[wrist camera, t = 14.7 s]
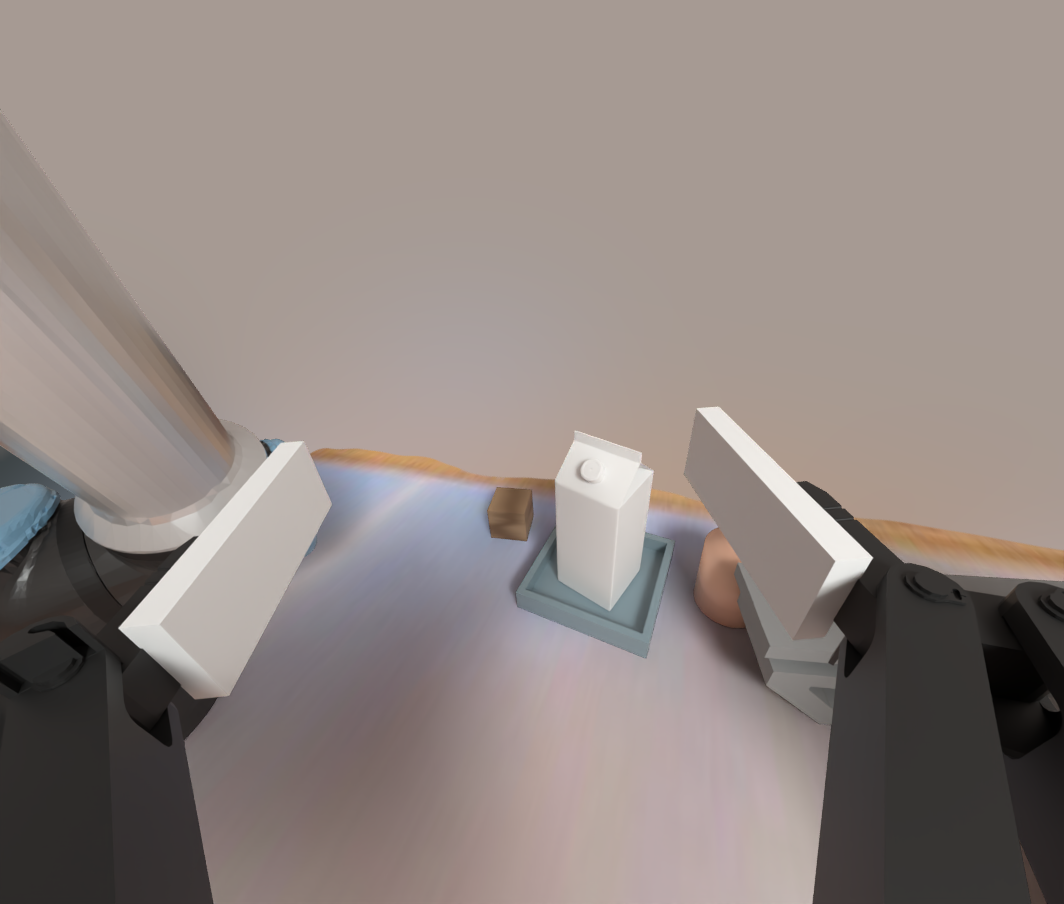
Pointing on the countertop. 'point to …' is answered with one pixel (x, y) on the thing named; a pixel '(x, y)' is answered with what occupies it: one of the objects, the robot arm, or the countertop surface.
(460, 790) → the countertop surface
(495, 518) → the walnut block
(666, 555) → the tray
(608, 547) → the milk carton
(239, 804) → the countertop surface
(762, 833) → the countertop surface
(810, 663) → the sharpening stone
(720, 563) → the peach round cylinder
